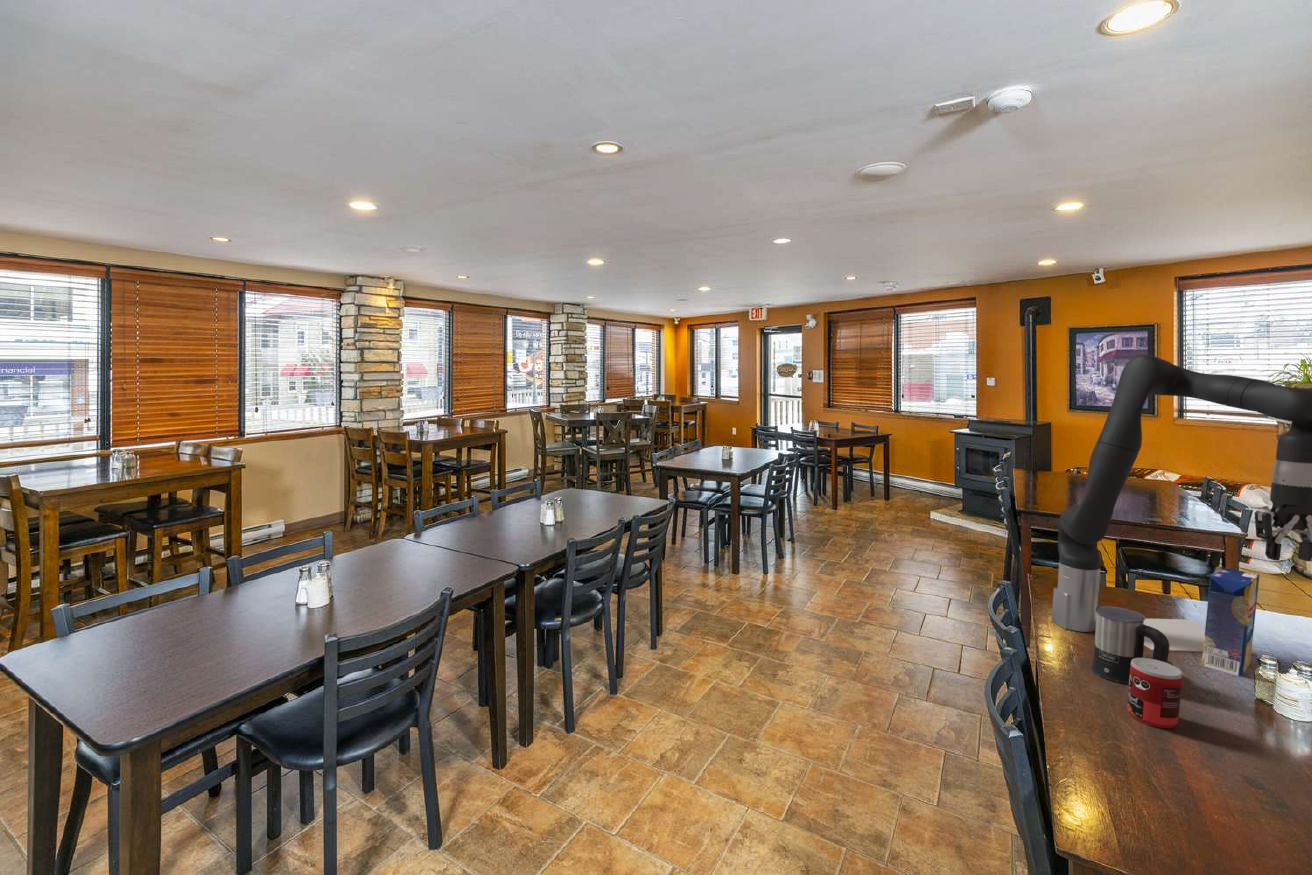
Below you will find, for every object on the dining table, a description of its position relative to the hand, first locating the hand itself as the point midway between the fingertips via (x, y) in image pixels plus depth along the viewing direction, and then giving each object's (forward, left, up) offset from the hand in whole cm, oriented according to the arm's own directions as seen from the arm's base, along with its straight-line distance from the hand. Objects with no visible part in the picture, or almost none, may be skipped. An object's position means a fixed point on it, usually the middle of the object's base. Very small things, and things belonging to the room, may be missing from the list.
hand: (1288, 559), depth 128 cm
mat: (0, +28, -30) cm, 41 cm away
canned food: (-35, -13, -30) cm, 48 cm away
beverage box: (0, +12, -30) cm, 32 cm away
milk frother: (-26, +6, -30) cm, 40 cm away
